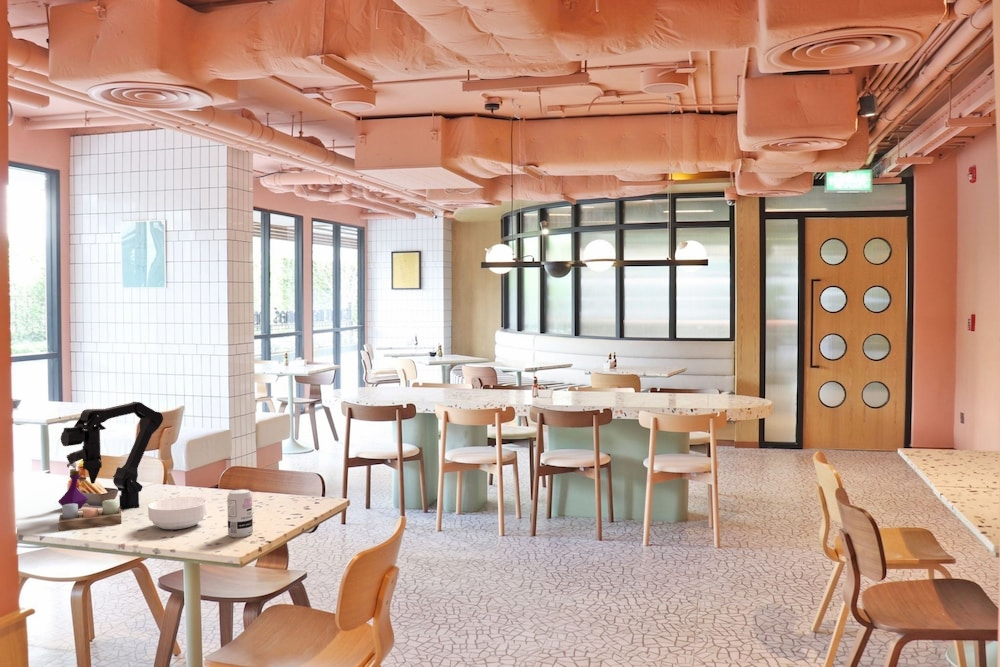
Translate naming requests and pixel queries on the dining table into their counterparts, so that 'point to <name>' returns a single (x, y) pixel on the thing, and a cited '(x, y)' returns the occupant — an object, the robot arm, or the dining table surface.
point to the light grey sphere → (70, 511)
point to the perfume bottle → (73, 491)
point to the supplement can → (240, 513)
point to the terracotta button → (90, 512)
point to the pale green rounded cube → (110, 507)
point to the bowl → (177, 512)
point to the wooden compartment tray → (89, 521)
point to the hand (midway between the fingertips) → (92, 483)
